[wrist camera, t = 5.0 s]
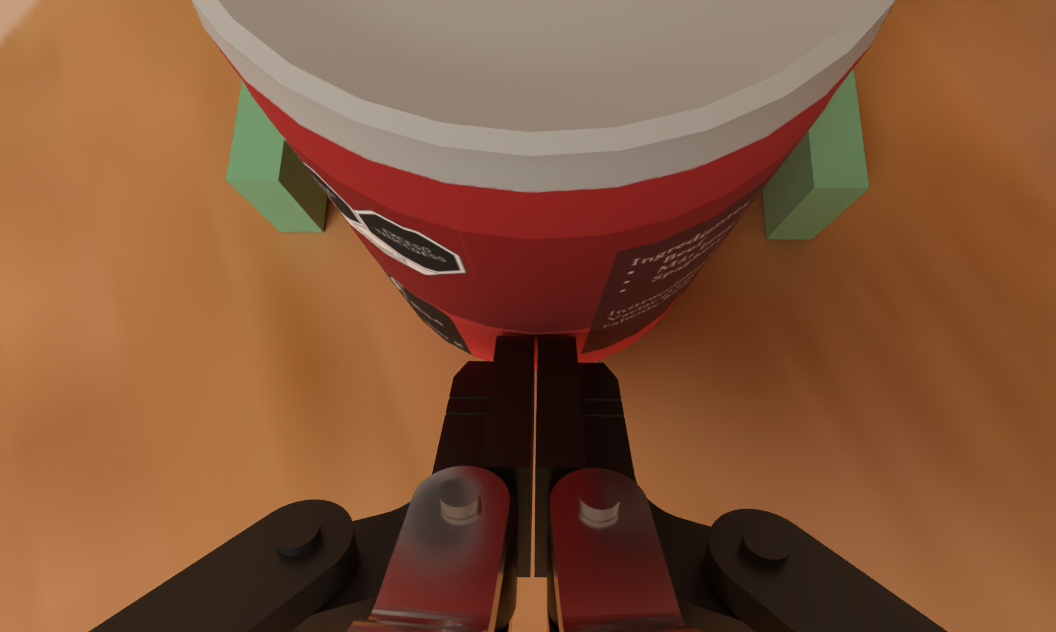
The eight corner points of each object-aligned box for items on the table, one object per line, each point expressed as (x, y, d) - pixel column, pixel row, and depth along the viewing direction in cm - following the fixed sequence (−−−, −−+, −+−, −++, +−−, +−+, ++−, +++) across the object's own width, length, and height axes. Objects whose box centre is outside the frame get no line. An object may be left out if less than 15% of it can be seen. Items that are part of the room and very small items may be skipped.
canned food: (393, 119, 18) (173, -423, 7) (671, 105, 18) (871, -463, 7) (389, 384, 16) (74, 181, 5) (703, 369, 16) (1048, 134, 5)
